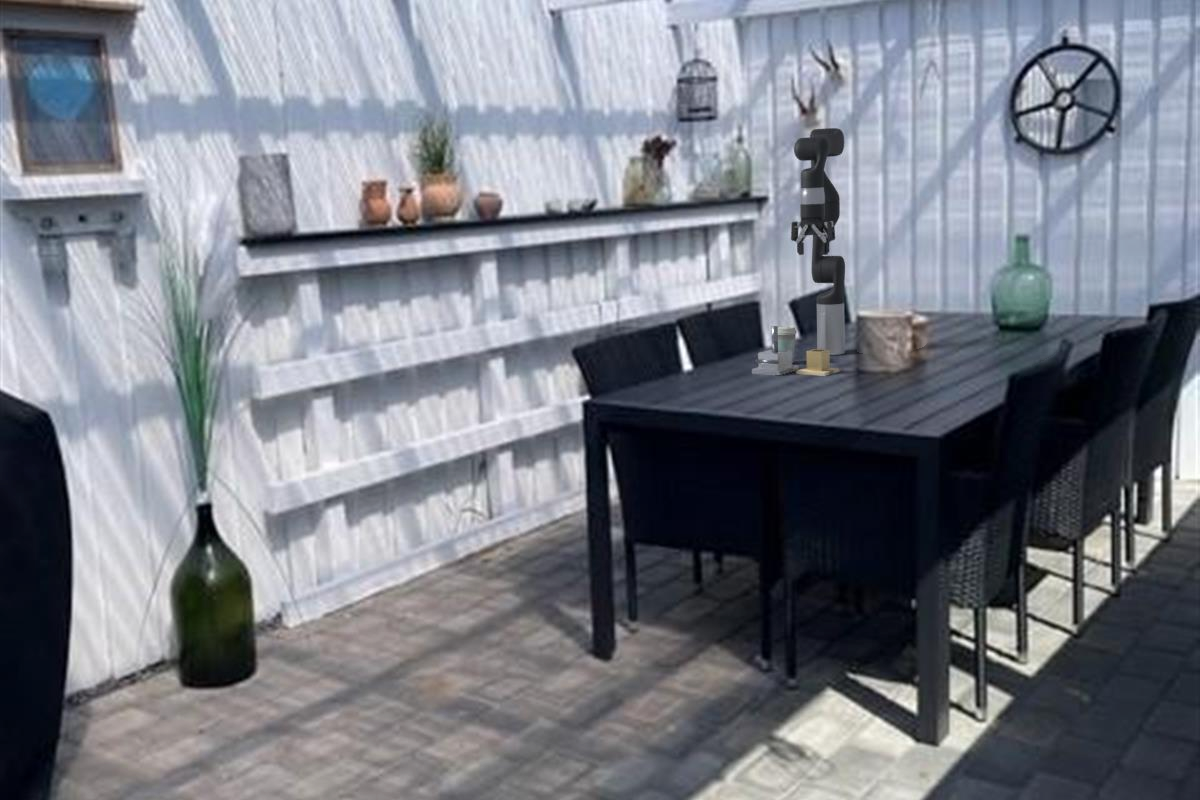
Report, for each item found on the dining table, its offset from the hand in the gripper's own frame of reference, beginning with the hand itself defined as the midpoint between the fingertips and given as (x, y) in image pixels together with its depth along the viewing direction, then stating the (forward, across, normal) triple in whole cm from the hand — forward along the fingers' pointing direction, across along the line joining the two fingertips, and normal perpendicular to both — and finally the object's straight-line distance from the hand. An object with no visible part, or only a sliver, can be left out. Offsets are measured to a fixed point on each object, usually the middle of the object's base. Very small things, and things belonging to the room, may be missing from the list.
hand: (813, 254), depth 403 cm
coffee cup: (+36, +14, -5) cm, 39 cm away
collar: (+35, -5, +7) cm, 36 cm away
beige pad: (+36, -5, +7) cm, 37 cm away
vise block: (+36, +8, +11) cm, 39 cm away
